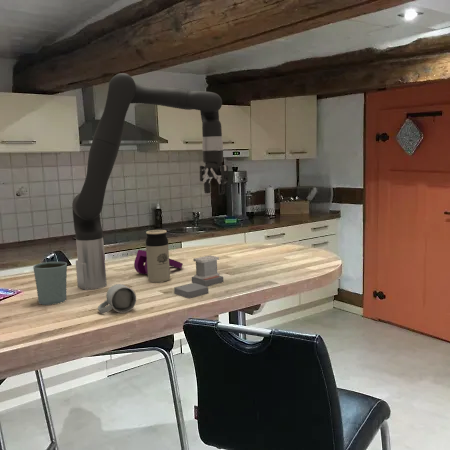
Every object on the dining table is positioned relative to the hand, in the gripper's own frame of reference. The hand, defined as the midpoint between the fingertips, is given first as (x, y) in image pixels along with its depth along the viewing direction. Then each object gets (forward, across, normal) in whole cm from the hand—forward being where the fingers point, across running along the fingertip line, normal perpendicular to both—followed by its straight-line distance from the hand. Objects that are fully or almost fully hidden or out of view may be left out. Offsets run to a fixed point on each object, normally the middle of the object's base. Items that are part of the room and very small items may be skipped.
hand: (214, 193), depth 186 cm
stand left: (+30, +15, -23) cm, 41 cm away
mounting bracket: (+31, -18, -14) cm, 38 cm away
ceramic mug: (+30, +13, -49) cm, 59 cm away
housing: (+28, +8, -11) cm, 31 cm away
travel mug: (+30, -8, -21) cm, 38 cm away
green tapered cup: (+30, -11, -59) cm, 67 cm away
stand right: (+30, +8, -11) cm, 33 cm away
